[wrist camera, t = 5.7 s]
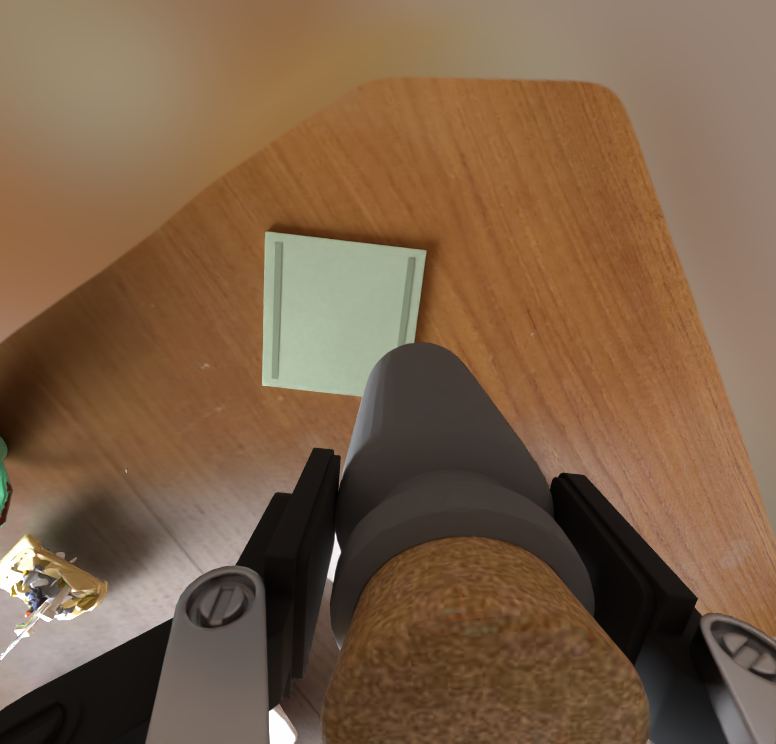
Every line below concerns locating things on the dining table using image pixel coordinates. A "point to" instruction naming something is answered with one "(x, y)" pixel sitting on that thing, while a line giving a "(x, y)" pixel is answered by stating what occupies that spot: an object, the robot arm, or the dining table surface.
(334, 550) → the paper
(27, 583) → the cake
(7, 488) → the mug
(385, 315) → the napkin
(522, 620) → the bottle
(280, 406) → the dining table surface
